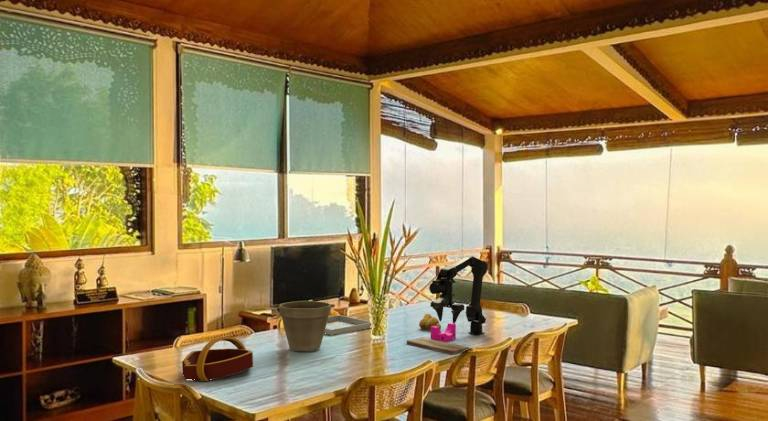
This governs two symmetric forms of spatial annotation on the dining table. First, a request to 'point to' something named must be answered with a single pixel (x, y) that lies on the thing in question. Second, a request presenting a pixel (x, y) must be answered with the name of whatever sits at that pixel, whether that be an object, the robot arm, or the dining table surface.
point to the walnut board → (437, 345)
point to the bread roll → (429, 322)
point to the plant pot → (305, 323)
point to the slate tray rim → (361, 325)
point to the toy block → (444, 333)
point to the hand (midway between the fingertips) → (447, 322)
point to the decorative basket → (217, 361)
